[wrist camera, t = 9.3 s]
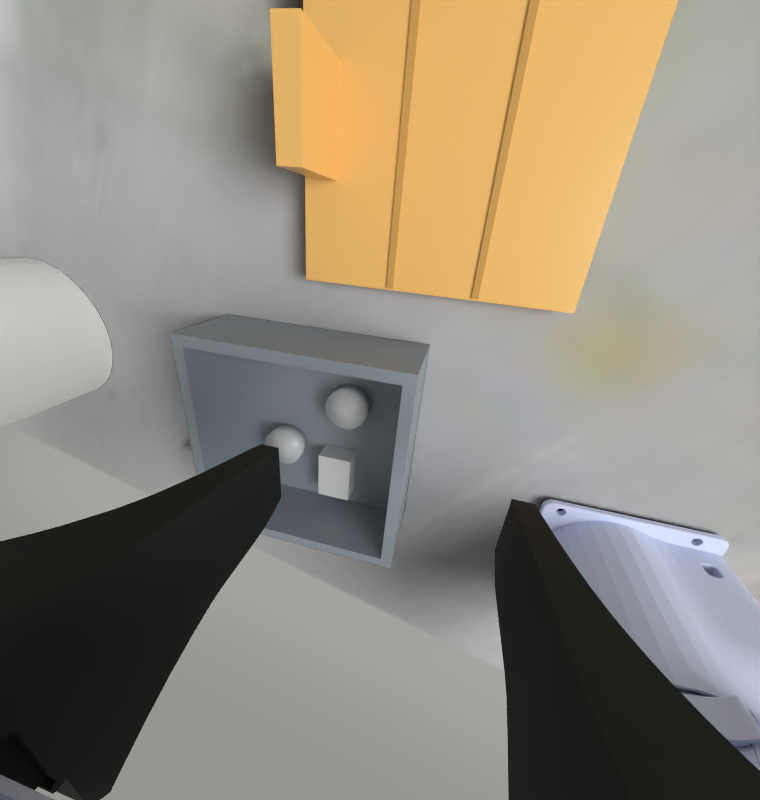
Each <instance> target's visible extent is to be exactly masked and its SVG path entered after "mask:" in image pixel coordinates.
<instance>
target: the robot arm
mask: <svg viewBox="0 0 760 800" xmlns="http://www.w3.org/2000/svg"><path fill="white" fill-rule="evenodd" d="M280 499H281V480H280V462H279V448H277V447H272V446H268V445H263V444H260V445H258V446H256V447H254V448H251V449H249V450H247V451H245V452H243V453H241V454H239V455H237V456H235V457H233V458H231V459H229V460H227V461H225V462H223V463H221V464H219V465H217V466H215V467H213V468H211V469H209V470H207V471H205V472H203V473H201V474H199V475H196V476H194V477H192V478H190V479H188V480H185V481H183V482H181V483H179V484H176V485H174V486H172V487H170V488H168V489H165V490H163V491H161V492H158V493H156V494H153V495H151V496H148V497H146V498H144V499H141V500H138V501H136V502H133V503H130V504H127V505H125V506H122V507H120V508H117V509H114V510H111V511H108V512H104V513H101V514H98V515H95V516H92V517H88V518H85V519H82V520H79V521H76V522H72V523H70V524H66V525H63V526H59V527H55V528H52V529H48V530H44V531H41V532H37V533H33V534H29V535H25V536H21V537H17V538H13V539H9V540H5V541H0V800H54V799H52V798H49V797H47V796H45V795H43V794H41V793H39V792H37V791H35V789H36V788H37V787H40V788H42V789H44V790H46V791H48V792H51V793H54V792H56V791H57V792H59V793H61V794H63V795H65V796H68V797H70V798H72V799H74V800H100V799H102V798H103V797H104V796H105V795H107V794H108V793H109V792H110V791H111V789H112V787H113V785H114V783H115V780H116V779H117V777H118V775H119V773H120V771H121V768H122V767H123V765H124V762H125V760H126V759H127V757H128V755H129V753H130V751H131V748H132V747H133V745H134V742H135V740H136V738H137V737H138V735H139V732H140V731H141V729H142V726H143V725H144V723H145V721H146V719H147V717H148V715H149V713H150V711H151V709H152V707H153V705H154V704H155V702H156V700H157V698H158V696H159V694H160V692H161V690H162V689H163V687H164V685H165V683H166V681H167V679H168V677H169V675H170V673H171V672H172V670H173V668H174V666H175V665H176V663H177V661H178V659H179V657H180V656H181V654H182V652H183V650H184V649H185V647H186V645H187V643H188V642H189V640H190V638H191V636H192V634H193V633H194V631H195V629H196V628H197V626H198V624H199V623H200V621H201V619H202V618H203V616H204V614H205V613H206V611H207V609H208V608H209V606H210V604H211V602H212V601H213V600H214V598H215V596H216V595H217V594H218V592H219V591H220V589H221V588H222V586H223V585H224V583H225V582H226V581H227V579H228V578H229V577H230V575H231V574H232V572H233V571H234V570H235V568H236V567H237V565H238V564H239V563H240V561H241V560H242V559H243V557H244V556H245V554H246V553H247V552H248V550H249V549H250V548H251V546H252V545H253V543H254V542H255V541H256V539H257V538H258V536H259V535H260V534H261V532H262V531H263V529H264V528H265V526H266V525H267V523H268V521H269V520H270V518H271V516H272V514H273V512H274V511H275V509H276V507H277V505H278V503H279V501H280ZM558 509H564V510H562V511H557V510H558ZM696 538H697V539H696ZM693 539H696V540H693ZM728 547H729V544H728V542H727V541H726V540H725V539H724V538H723V537H722V536H719V535H715V534H711V533H706V532H702V531H697V530H692V529H688V528H683V527H678V526H674V525H669V524H664V523H660V522H655V521H650V520H646V519H641V518H637V517H632V516H627V515H623V514H618V513H613V512H609V511H604V510H599V509H595V508H590V507H586V506H581V505H576V504H572V503H567V502H562V501H558V500H552V499H549V500H546V501H544V502H543V503H542V505H541V508H540V510H538V508H537V507H536V505H535V504H532V503H527V502H523V501H518V500H514V499H512V501H511V504H510V507H509V510H508V513H507V516H506V519H505V522H504V525H503V528H502V531H501V534H500V537H499V540H498V543H497V546H496V549H495V590H496V600H497V609H498V618H499V626H500V635H501V644H502V653H503V661H504V670H505V681H506V693H507V726H508V727H507V728H508V782H509V784H508V785H509V800H760V605H759V604H758V602H757V601H756V600H755V598H754V597H753V596H752V595H751V593H750V592H749V591H748V589H747V588H746V587H745V586H744V584H743V583H742V582H741V580H740V579H739V578H738V576H737V575H736V574H735V573H734V571H733V570H732V569H731V567H730V566H729V565H728V564H727V562H726V561H725V560H724V558H723V557H722V555H723V554H724V553H725V551H726V550H727V549H728Z"/></svg>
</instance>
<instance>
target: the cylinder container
mask: <svg viewBox="0 0 760 800" xmlns="http://www.w3.org/2000/svg"><path fill="white" fill-rule="evenodd" d="M112 360H113V356H112V348H111V343H110V339H109V336H108V333H107V330H106V328H105V325H104V323H103V321H102V319H101V317H100V315H99V313H98V312H97V310H96V309H95V307H94V305H93V304H92V303H91V301H90V300H89V299H88V297H87V296H86V295H85V294H84V292H83V291H82V290H81V289H80V288H79V287H78V286H77V285H76V284H75V283H74V282H73V281H72V280H71V279H70V278H68V277H67V276H66V275H65V274H63V273H62V272H61V271H59V270H58V269H56V268H54V267H53V266H51V265H49V264H47V263H45V262H42V261H40V260H36V259H33V258H24V257H22V258H2V259H0V429H1V428H4V427H6V426H8V425H11V424H13V423H16V422H18V421H21V420H23V419H25V418H28V417H30V416H33V415H35V414H38V413H40V412H42V411H45V410H47V409H50V408H52V407H55V406H57V405H59V404H62V403H64V402H67V401H69V400H72V399H74V398H76V397H79V396H81V395H84V394H86V393H89V392H91V391H93V390H96V389H98V388H100V387H101V386H102V385H103V384H104V383H105V382H106V381H107V379H108V378H109V376H110V373H111V369H112Z"/></svg>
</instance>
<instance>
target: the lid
mask: <svg viewBox="0 0 760 800" xmlns="http://www.w3.org/2000/svg"><path fill="white" fill-rule="evenodd" d="M677 2H678V0H303V11H302V9H301V8H277V9H270V22H271V46H272V70H273V94H274V119H275V143H276V166H279V167H282V168H284V169H287V170H290V171H293V172H296V173H299V174H302V175H304V176H305V222H306V279H307V280H314V281H322V282H330V283H338V284H346V285H354V286H362V287H370V288H377V289H385V290H393V291H401V292H409V293H417V294H425V295H433V296H441V297H448V298H456V299H464V300H472V301H480V302H488V303H496V304H504V305H511V306H519V307H527V308H535V309H543V310H551V311H559V312H567V313H574V312H575V309H576V306H577V303H578V300H579V297H580V294H581V291H582V288H583V285H584V282H585V279H586V276H587V273H588V270H589V267H590V264H591V261H592V258H593V255H594V252H595V249H596V246H597V243H598V240H599V237H600V234H601V231H602V228H603V225H604V222H605V219H606V216H607V213H608V210H609V207H610V204H611V201H612V198H613V195H614V192H615V189H616V186H617V183H618V180H619V177H620V174H621V171H622V168H623V165H624V162H625V159H626V156H627V153H628V150H629V147H630V144H631V140H632V137H633V134H634V131H635V128H636V125H637V122H638V119H639V116H640V113H641V110H642V107H643V104H644V101H645V98H646V95H647V92H648V89H649V86H650V83H651V80H652V77H653V74H654V71H655V68H656V65H657V62H658V59H659V56H660V53H661V50H662V47H663V44H664V41H665V38H666V35H667V32H668V29H669V26H670V23H671V20H672V17H673V14H674V11H675V8H676V5H677Z"/></svg>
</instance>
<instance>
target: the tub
mask: <svg viewBox="0 0 760 800" xmlns="http://www.w3.org/2000/svg"><path fill="white" fill-rule="evenodd" d="M170 338H171V344H172V349H173V354H174V359H175V365H176V370H177V375H178V380H179V386H180V391H181V396H182V401H183V407H184V412H185V417H186V423H187V428H188V433H189V438H190V444H191V449H192V454H193V459H194V465H195V470H196V475H199V474H201V473H203V472H205V471H207V470H209V469H211V468H213V467H215V466H217V465H219V464H221V463H223V462H225V461H227V460H229V459H231V458H233V457H235V456H237V455H239V454H241V453H243V452H245V451H247V450H249V449H251V448H254V447H256V446H258V445H260V444H263V445H268V446H272V447H277V448H279V462H280V480H281V499H280V501H279V503H278V505H277V507H276V509H275V511H274V512H273V514H272V516H271V518H270V520H269V521H268V523H267V525H266V526H265V528H264V529H263V531H262V532H261V534H262V535H266V536H269V537H273V538H277V539H281V540H284V541H288V542H292V543H295V544H299V545H303V546H307V547H310V548H314V549H318V550H321V551H325V552H329V553H333V554H336V555H340V556H344V557H348V558H351V559H355V560H359V561H362V562H366V563H370V564H374V565H377V566H381V567H385V568H388V569H390V568H391V564H392V560H393V555H394V551H395V547H396V543H397V539H398V535H399V531H400V527H401V523H402V519H403V515H404V509H405V503H406V496H407V490H408V483H409V477H410V470H411V464H412V457H413V451H414V444H415V438H416V431H417V425H418V418H419V412H420V405H421V399H422V392H423V386H424V379H425V373H426V366H427V360H428V353H429V347H430V345H427V344H420V343H414V342H407V341H400V340H394V339H387V338H381V337H374V336H367V335H361V334H354V333H348V332H341V331H335V330H328V329H321V328H315V327H308V326H302V325H295V324H288V323H282V322H275V321H269V320H262V319H255V318H249V317H242V316H236V315H229V314H227V315H224V316H221V317H218V318H215V319H212V320H209V321H206V322H203V323H200V324H197V325H193V326H190V327H187V328H184V329H181V330H178V331H175V332H172V333H170Z"/></svg>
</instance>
